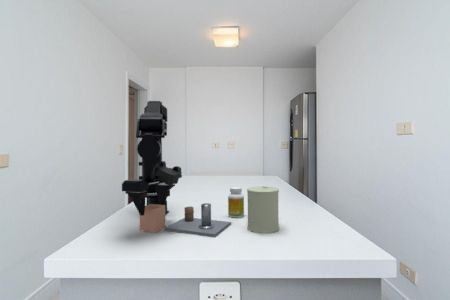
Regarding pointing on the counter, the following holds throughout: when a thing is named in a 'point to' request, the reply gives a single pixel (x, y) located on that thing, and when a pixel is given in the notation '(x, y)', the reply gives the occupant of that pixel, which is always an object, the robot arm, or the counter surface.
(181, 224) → the board
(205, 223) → the marker post
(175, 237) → the counter surface
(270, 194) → the can
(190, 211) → the walnut post
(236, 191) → the supplement bottle
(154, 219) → the terracotta colored cuboid
